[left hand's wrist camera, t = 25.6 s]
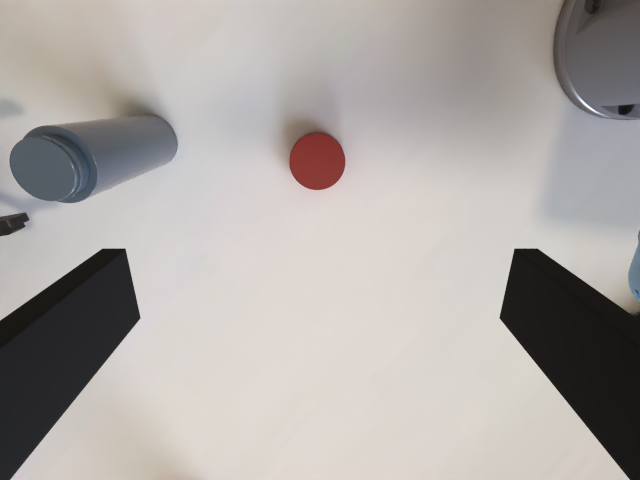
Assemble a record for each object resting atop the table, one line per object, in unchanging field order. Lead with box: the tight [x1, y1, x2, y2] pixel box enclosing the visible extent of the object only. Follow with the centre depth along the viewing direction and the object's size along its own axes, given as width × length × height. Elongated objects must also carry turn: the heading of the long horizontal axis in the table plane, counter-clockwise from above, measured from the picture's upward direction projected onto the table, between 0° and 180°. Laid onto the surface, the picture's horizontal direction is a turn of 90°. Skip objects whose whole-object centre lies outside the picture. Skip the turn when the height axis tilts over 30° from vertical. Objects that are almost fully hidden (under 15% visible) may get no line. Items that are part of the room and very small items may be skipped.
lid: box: [290, 132, 345, 190], centre depth 36 cm, size 5×5×2 cm
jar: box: [10, 115, 177, 203], centre depth 29 cm, size 5×5×15 cm
